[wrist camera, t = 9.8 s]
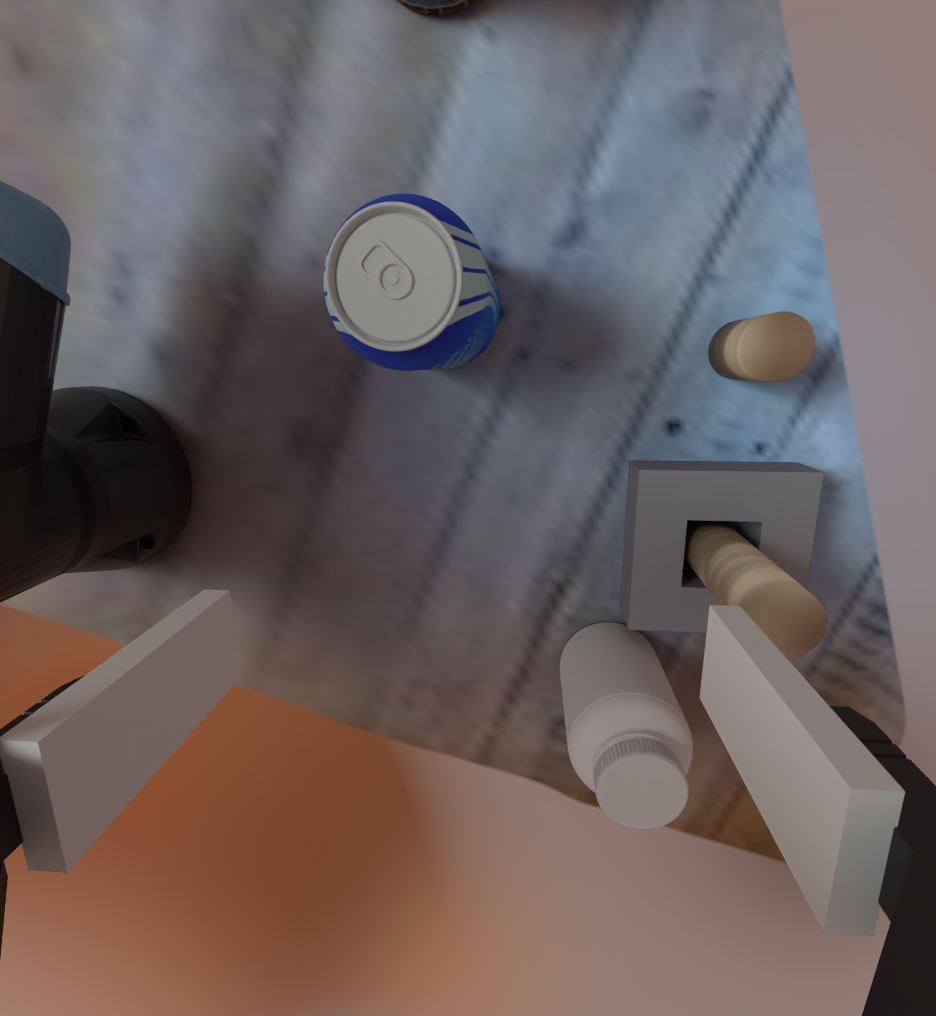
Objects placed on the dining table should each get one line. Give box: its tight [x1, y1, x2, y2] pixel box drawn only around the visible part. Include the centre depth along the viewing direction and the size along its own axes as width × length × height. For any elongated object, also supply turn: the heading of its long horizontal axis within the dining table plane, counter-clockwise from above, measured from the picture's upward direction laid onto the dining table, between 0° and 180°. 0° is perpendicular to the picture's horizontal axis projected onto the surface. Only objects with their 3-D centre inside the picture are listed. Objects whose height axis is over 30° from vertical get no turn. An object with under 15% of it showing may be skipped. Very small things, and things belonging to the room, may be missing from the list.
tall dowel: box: [684, 520, 827, 659], centre depth 37 cm, size 4×4×15 cm
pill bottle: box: [560, 622, 693, 830], centre depth 40 cm, size 8×8×15 cm
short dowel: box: [708, 312, 815, 382], centre depth 37 cm, size 4×4×7 cm
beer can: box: [323, 194, 500, 371], centre depth 34 cm, size 8×8×16 cm
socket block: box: [620, 461, 824, 633], centre depth 42 cm, size 12×12×4 cm
